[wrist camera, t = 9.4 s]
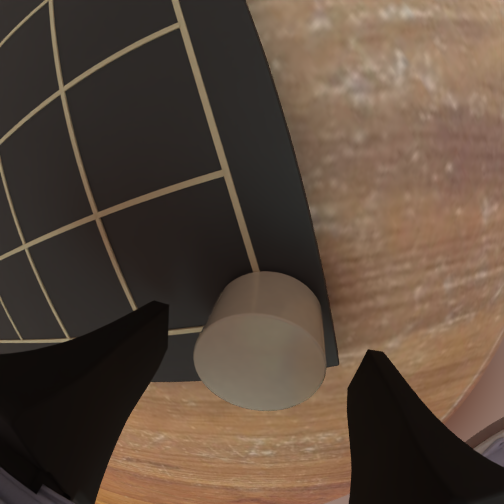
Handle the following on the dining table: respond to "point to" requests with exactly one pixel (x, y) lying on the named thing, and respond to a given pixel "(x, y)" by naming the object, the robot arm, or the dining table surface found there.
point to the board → (141, 170)
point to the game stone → (263, 343)
